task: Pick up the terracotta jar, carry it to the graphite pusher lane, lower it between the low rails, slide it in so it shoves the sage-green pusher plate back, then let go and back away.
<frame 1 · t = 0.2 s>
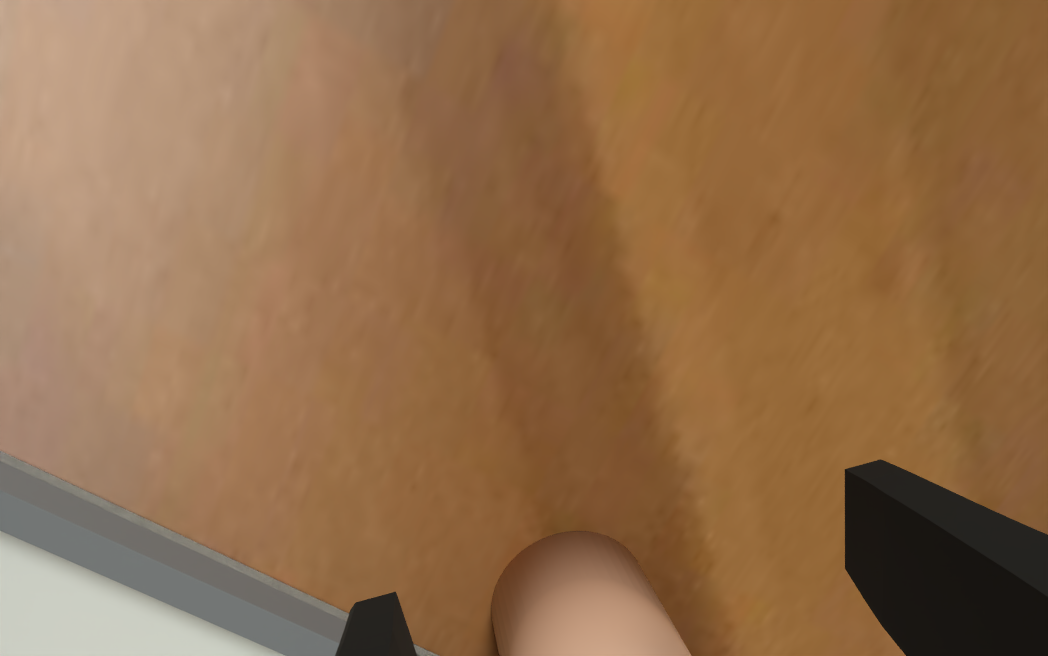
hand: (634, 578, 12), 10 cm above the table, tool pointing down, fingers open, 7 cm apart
terracotta jar: (569, 602, 24), on the table
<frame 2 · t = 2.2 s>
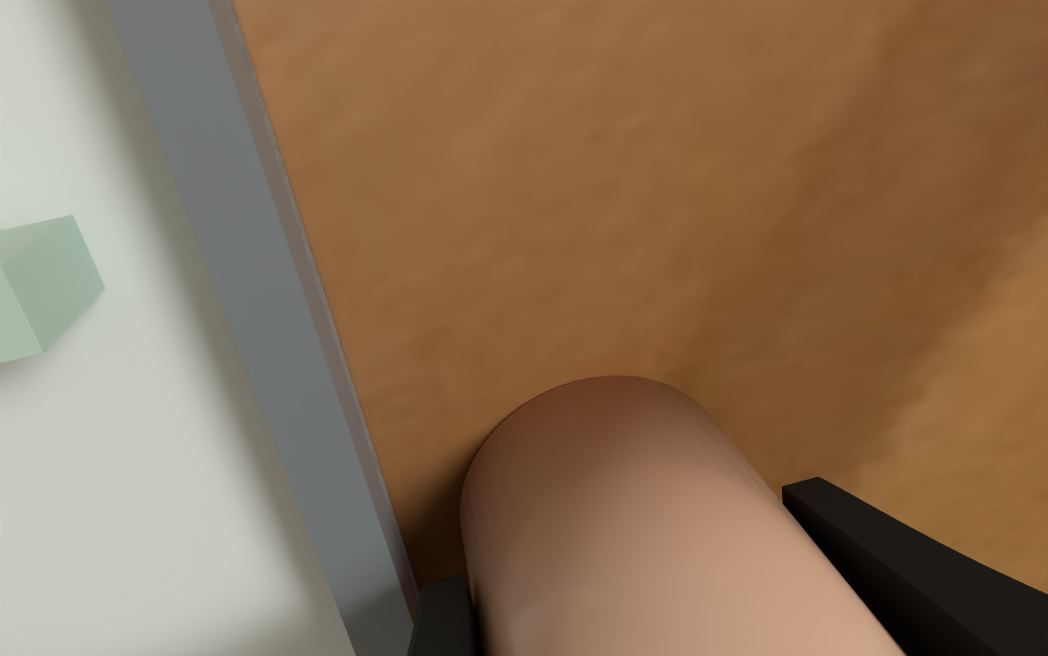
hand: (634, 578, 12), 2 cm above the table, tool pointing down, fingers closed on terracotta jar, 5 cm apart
terracotta jar: (598, 500, 13), on the table, touching gripper
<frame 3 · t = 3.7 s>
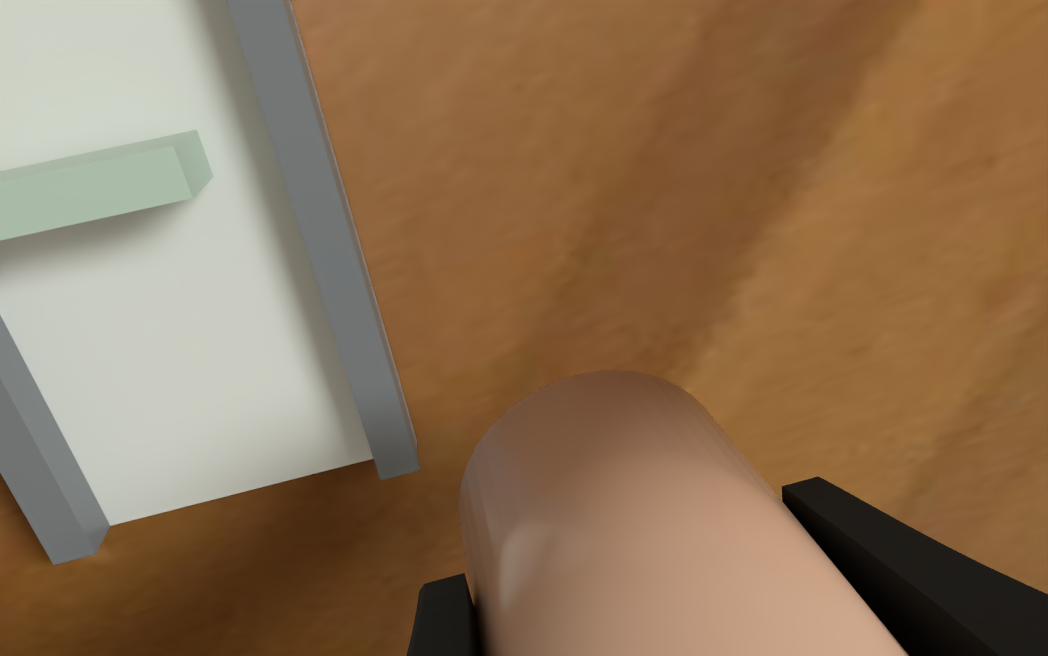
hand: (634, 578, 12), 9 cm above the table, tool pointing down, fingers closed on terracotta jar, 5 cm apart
terracotta jar: (596, 495, 14), point 7 cm above the table, touching gripper
pusher lane: (91, 96, 16), on the table
pusher plate: (92, 184, 15), point 2 cm above the table, slide at 0.0 cm
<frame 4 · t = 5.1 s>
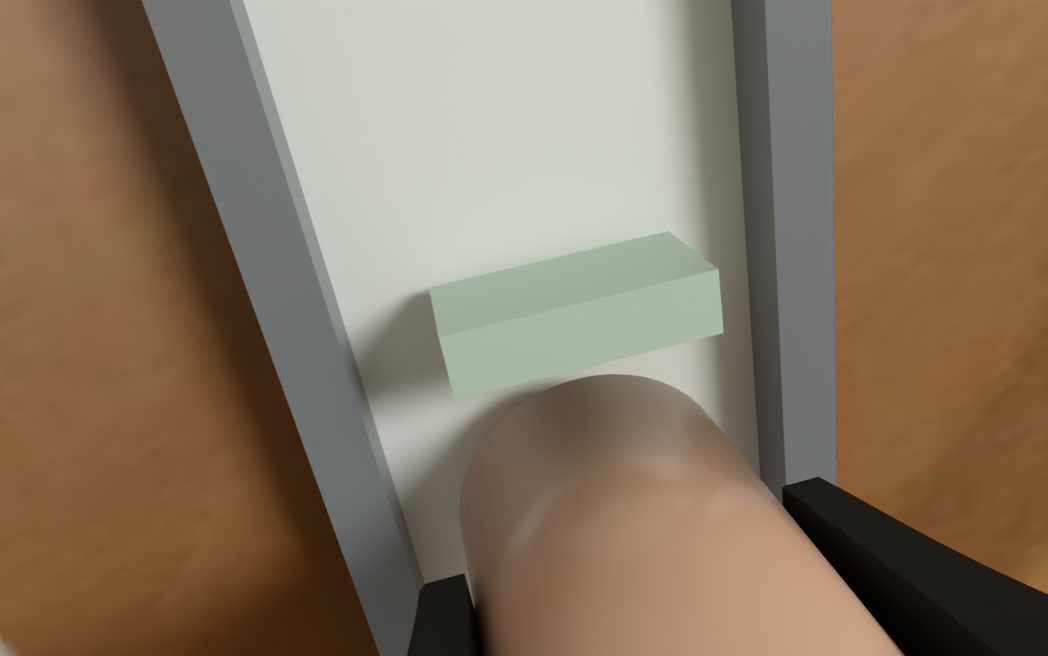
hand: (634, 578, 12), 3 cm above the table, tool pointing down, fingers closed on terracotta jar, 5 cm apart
terracotta jar: (597, 498, 14), point 1 cm above the table, touching gripper
pusher lane: (530, 188, 12), on the table
pusher plate: (569, 309, 11), point 2 cm above the table, slide at 0.0 cm
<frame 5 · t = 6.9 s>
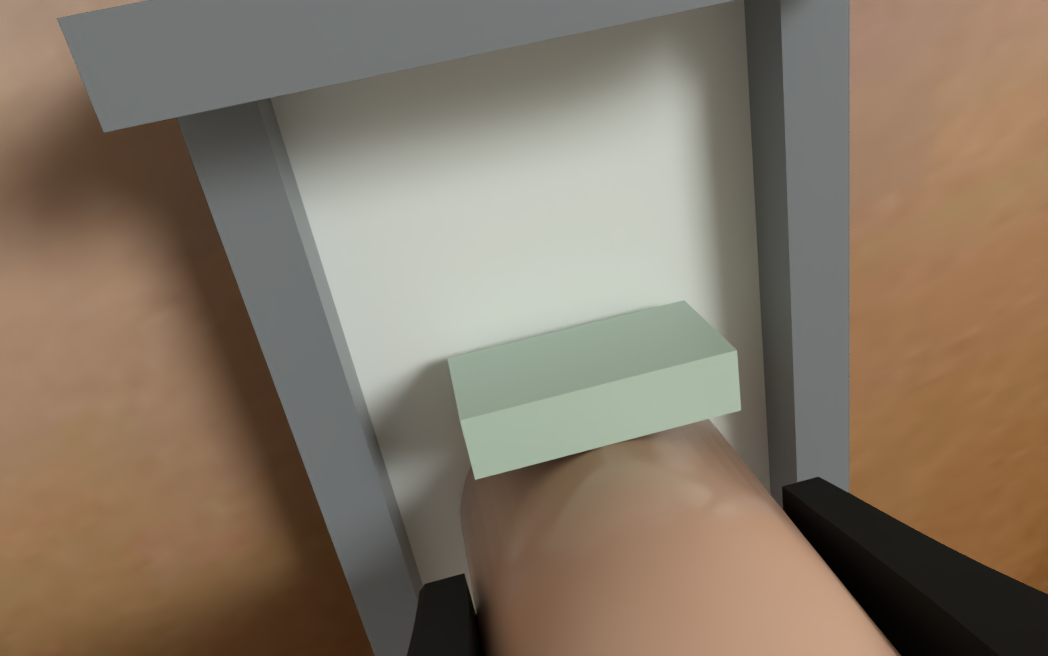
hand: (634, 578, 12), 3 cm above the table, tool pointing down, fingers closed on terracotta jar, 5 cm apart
terracotta jar: (597, 500, 14), point 1 cm above the table, touching gripper, pusher plate
pusher lane: (592, 511, 15), on the table
pusher plate: (587, 383, 12), point 2 cm above the table, slide at 5.4 cm, touching terracotta jar
when the fingers open (3 cm above the table, at t = 8.0 s): terracotta jar stays where it is, resting on pusher lane.
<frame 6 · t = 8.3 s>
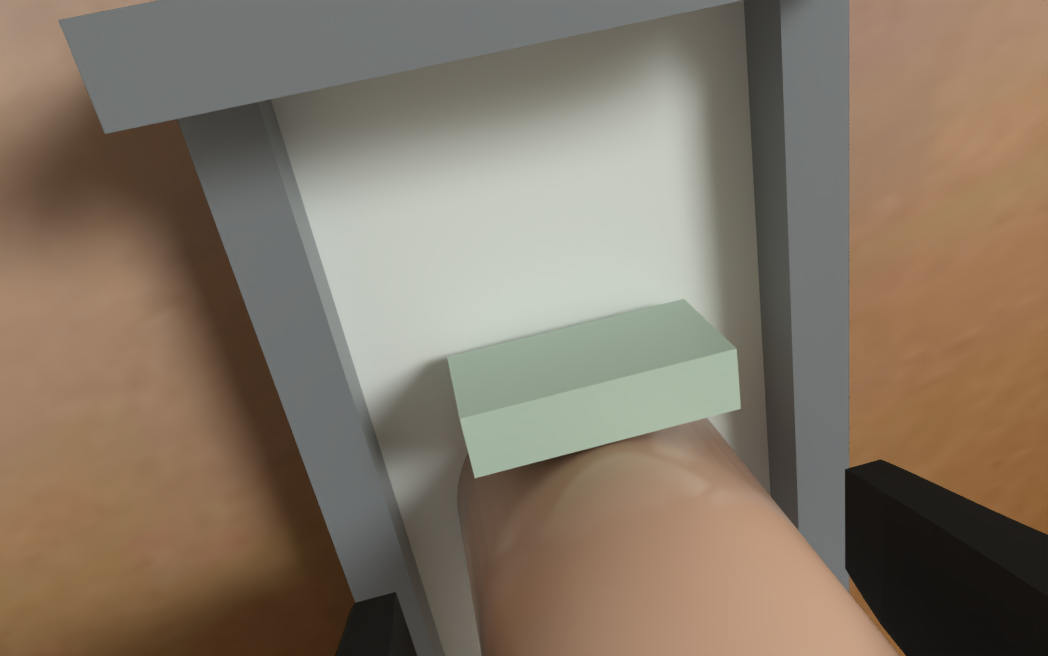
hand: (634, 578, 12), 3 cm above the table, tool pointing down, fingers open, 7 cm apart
terracotta jar: (590, 487, 14), resting on pusher lane
pusher lane: (592, 511, 15), on the table
pusher plate: (587, 381, 12), point 2 cm above the table, slide at 5.4 cm
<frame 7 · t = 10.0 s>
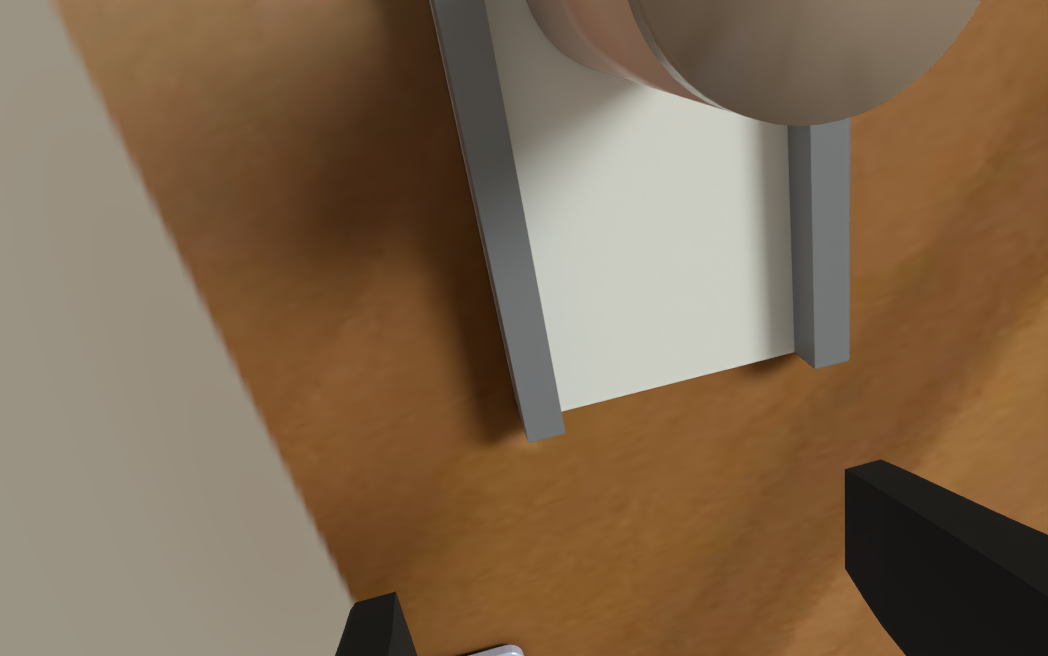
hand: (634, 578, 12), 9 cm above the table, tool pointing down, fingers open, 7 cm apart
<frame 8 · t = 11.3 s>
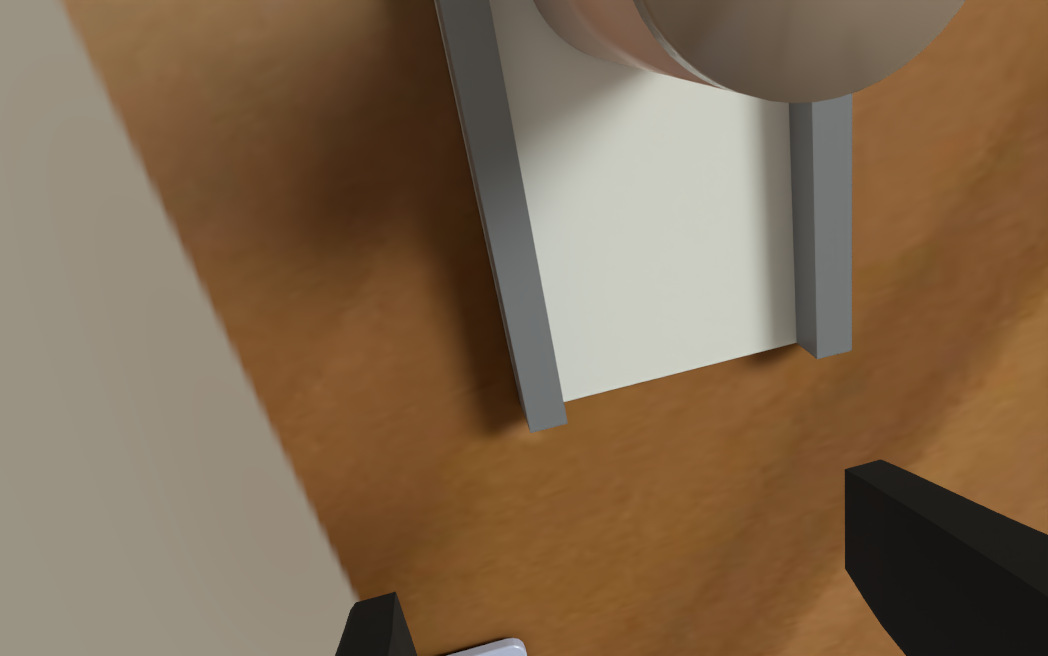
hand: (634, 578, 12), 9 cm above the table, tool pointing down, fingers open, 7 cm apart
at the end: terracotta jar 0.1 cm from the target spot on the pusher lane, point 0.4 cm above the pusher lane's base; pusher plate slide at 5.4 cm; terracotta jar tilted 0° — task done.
